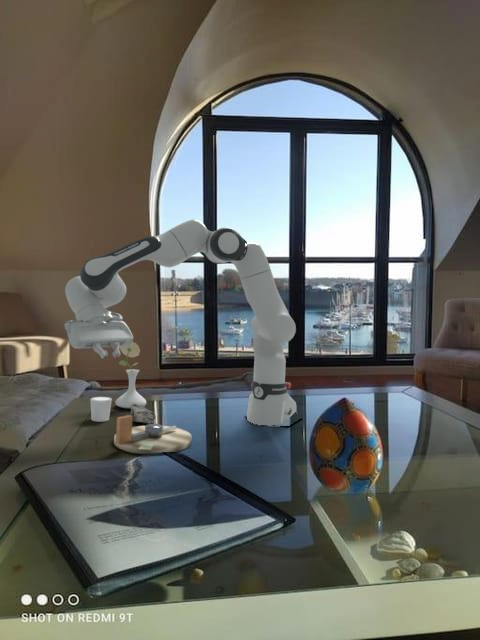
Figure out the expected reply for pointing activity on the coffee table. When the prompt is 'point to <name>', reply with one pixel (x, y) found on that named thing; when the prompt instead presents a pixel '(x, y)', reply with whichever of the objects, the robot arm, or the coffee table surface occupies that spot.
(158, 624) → the coffee table surface
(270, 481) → the coffee table surface
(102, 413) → the white cylinder
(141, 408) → the mineral rock
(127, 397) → the flower in vase
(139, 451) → the stand
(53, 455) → the coffee table surface
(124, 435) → the grey pivot bar
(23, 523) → the coffee table surface
